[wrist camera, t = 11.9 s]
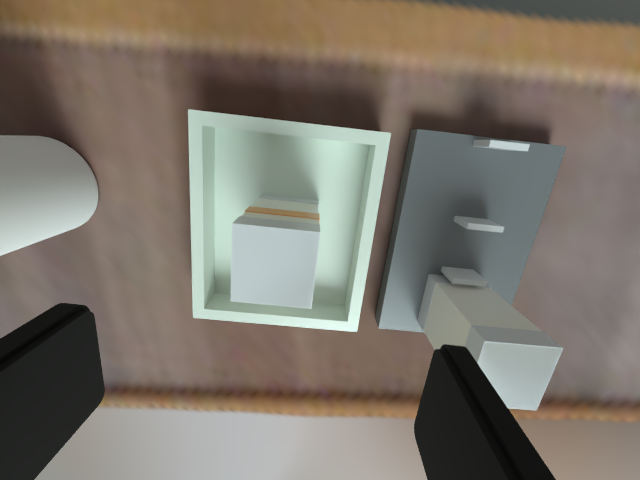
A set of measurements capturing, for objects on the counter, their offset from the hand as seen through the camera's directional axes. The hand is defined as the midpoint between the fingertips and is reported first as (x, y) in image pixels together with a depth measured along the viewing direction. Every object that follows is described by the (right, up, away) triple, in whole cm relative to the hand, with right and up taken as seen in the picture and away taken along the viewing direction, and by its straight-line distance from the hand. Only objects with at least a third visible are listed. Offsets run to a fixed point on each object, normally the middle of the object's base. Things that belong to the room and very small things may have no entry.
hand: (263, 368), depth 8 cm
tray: (-1, +5, +15) cm, 15 cm away
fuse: (+12, -1, +15) cm, 19 cm away
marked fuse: (-1, +5, +14) cm, 15 cm away
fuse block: (+12, +4, +15) cm, 20 cm away
